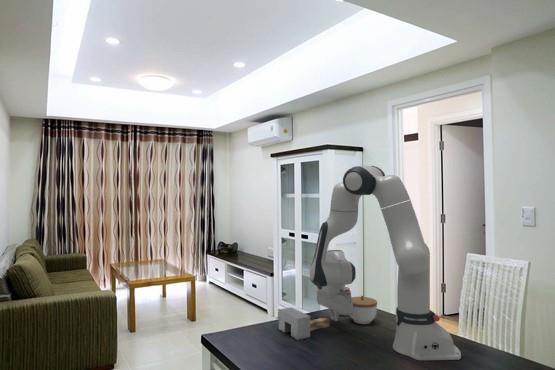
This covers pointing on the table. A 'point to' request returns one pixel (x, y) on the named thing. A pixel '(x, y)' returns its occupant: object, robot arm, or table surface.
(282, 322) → the housing
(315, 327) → the rod
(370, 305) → the lidded bowl
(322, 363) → the table surface
